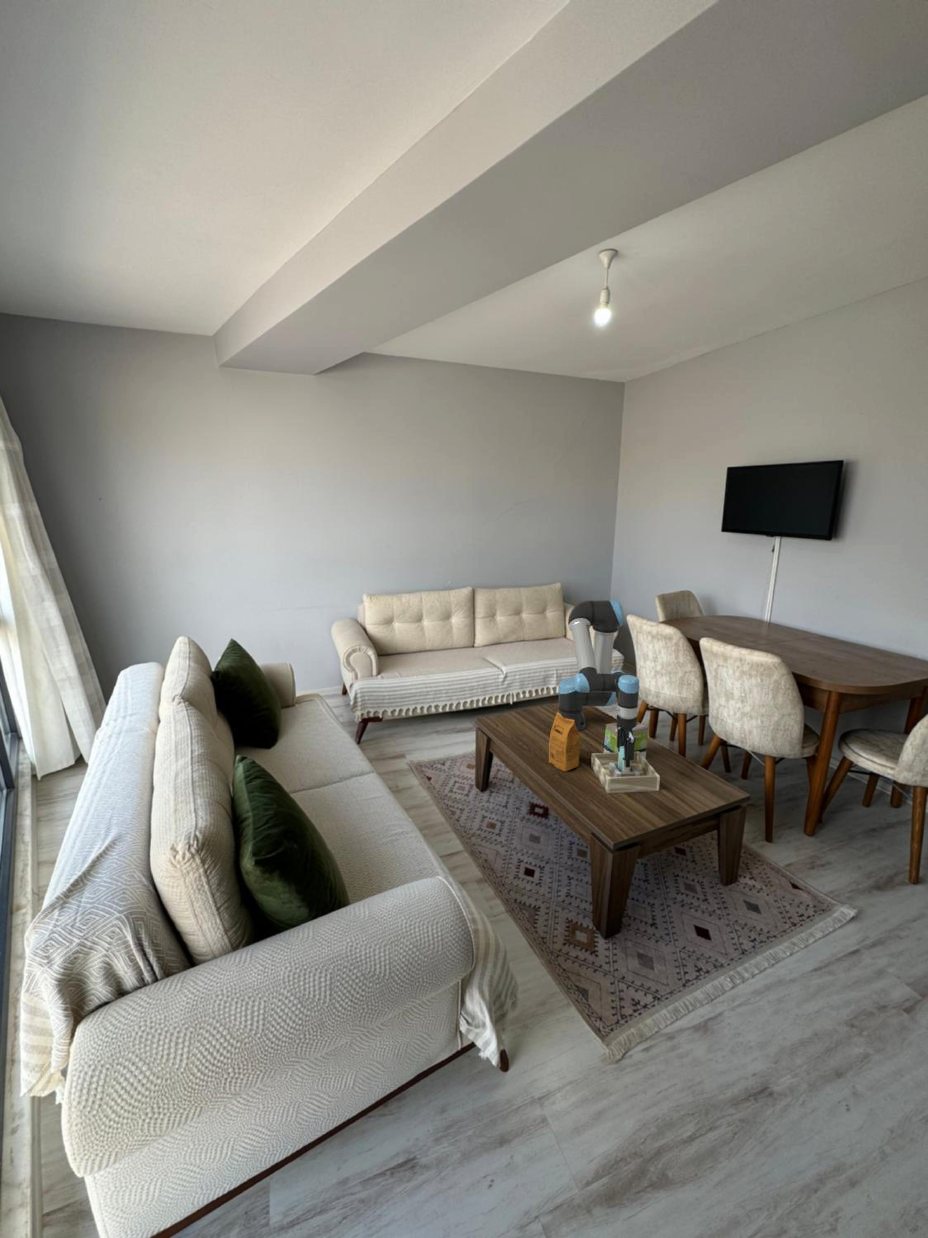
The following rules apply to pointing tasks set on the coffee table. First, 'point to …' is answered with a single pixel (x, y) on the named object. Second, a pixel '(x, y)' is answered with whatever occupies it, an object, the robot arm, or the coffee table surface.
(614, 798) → the coffee table surface
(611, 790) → the open box
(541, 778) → the coffee table surface
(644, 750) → the tea box
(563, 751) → the coffee package
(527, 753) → the coffee table surface
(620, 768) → the peg
